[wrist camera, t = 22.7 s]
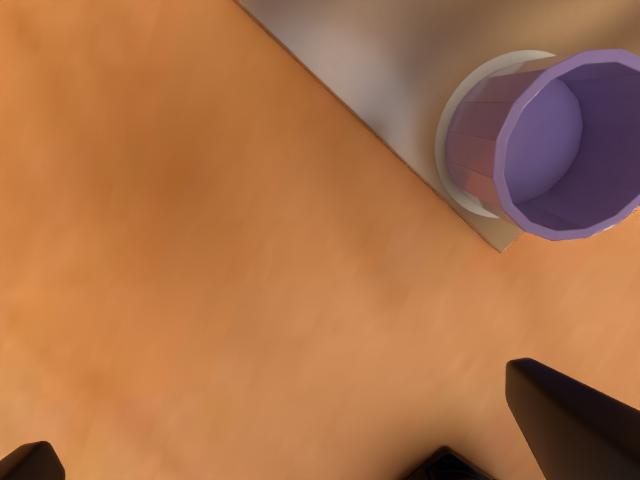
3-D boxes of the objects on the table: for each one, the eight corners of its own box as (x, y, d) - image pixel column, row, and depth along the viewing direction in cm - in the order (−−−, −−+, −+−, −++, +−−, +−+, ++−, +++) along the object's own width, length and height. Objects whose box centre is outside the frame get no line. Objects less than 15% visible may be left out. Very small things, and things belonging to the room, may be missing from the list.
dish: (609, 133, 17) (711, 143, 13) (503, 234, 19) (564, 272, 15) (525, 28, 16) (611, 0, 11) (415, 147, 17) (455, 162, 13)
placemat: (694, 61, 17) (710, 59, 17) (495, 249, 20) (502, 255, 19) (429, -342, 12) (436, -366, 12) (210, -22, 15) (206, -28, 14)
